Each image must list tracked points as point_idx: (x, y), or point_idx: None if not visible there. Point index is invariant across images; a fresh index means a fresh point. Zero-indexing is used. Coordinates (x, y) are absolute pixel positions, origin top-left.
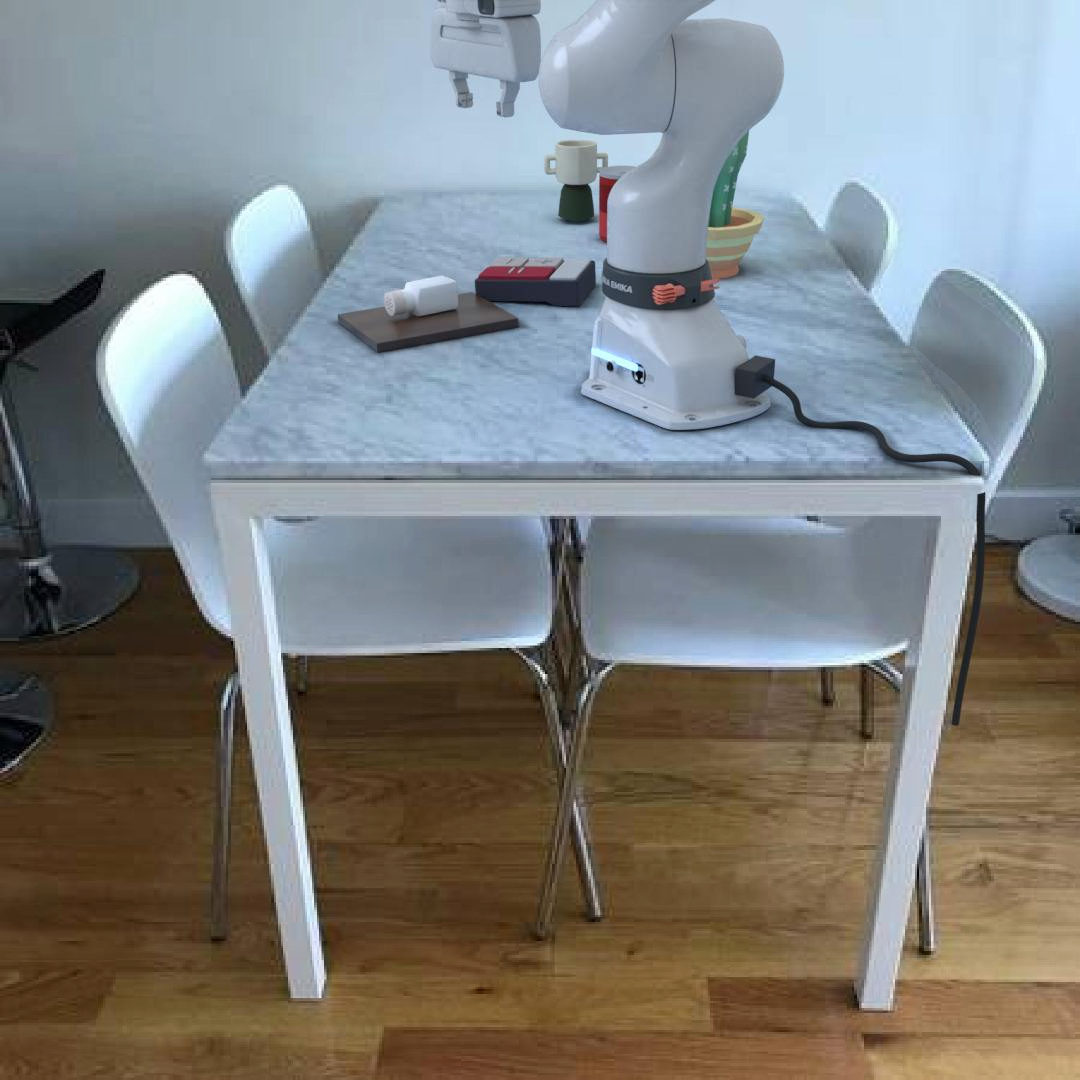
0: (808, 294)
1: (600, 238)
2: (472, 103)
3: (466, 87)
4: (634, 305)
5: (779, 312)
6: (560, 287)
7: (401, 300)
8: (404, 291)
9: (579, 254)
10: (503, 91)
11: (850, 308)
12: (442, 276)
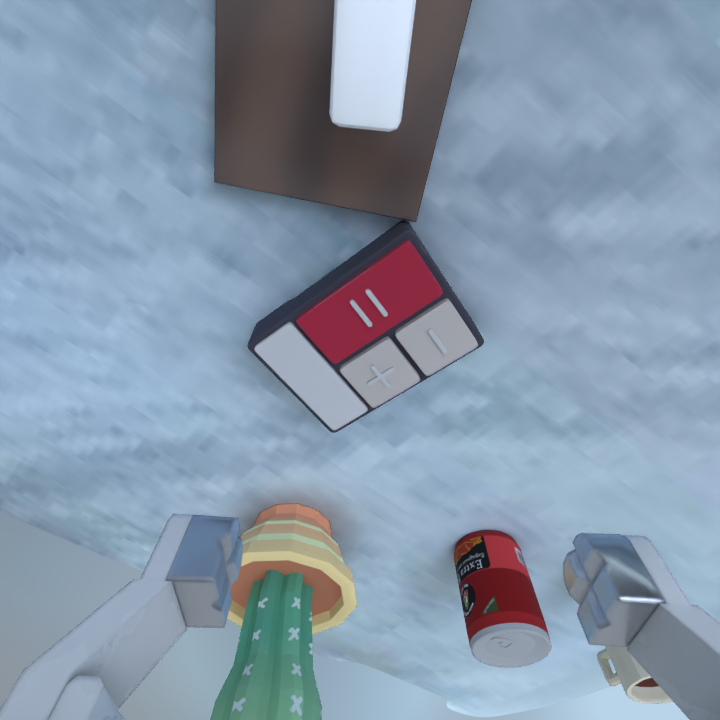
0: (145, 535)
1: (506, 534)
2: (568, 585)
3: (659, 674)
4: None
5: (96, 480)
6: (271, 323)
7: None
8: None
9: (477, 481)
10: (71, 656)
11: (75, 530)
12: (382, 114)
